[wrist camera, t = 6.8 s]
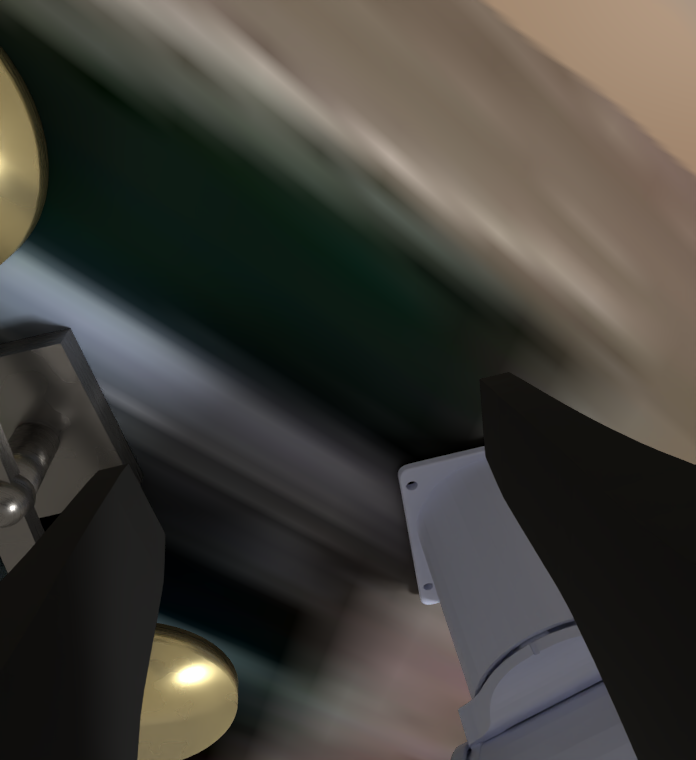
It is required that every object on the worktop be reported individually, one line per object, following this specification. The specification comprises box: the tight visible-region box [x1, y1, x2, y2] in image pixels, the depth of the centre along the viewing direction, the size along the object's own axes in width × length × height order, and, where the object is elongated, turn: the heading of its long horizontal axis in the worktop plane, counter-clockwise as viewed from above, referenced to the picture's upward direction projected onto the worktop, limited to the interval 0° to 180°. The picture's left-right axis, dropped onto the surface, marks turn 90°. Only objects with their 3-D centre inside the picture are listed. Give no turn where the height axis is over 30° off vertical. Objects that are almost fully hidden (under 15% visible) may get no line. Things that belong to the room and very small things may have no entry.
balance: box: [0, 46, 238, 760], centre depth 19 cm, size 30×9×7 cm, turn 10°
